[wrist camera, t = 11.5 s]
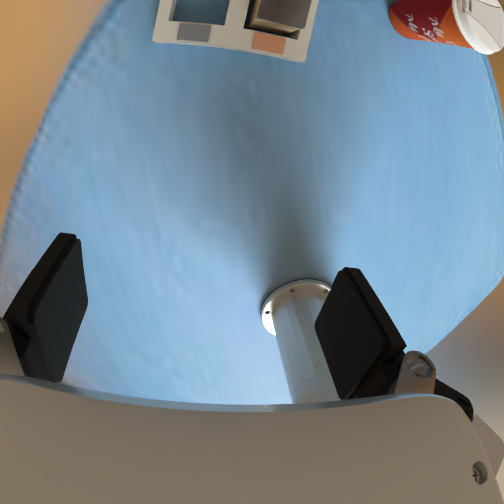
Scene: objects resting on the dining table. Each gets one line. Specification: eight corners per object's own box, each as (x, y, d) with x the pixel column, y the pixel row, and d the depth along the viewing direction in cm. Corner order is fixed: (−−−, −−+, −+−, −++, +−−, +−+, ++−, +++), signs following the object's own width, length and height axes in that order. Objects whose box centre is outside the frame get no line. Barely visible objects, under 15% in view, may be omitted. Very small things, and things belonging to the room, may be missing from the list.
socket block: (313, -13, 22) (324, -20, 20) (296, 62, 28) (305, 62, 25) (175, -36, 19) (171, -46, 16) (156, 43, 24) (151, 40, 22)
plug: (293, 4, 23) (314, -10, 18) (285, 35, 26) (304, 28, 20) (255, -5, 23) (267, -22, 17) (247, 26, 25) (258, 16, 19)
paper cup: (379, 36, 26) (461, 36, 15) (382, -16, 22) (460, -34, 10) (428, 54, 27) (509, 68, 16) (431, 5, 23) (511, 5, 11)
